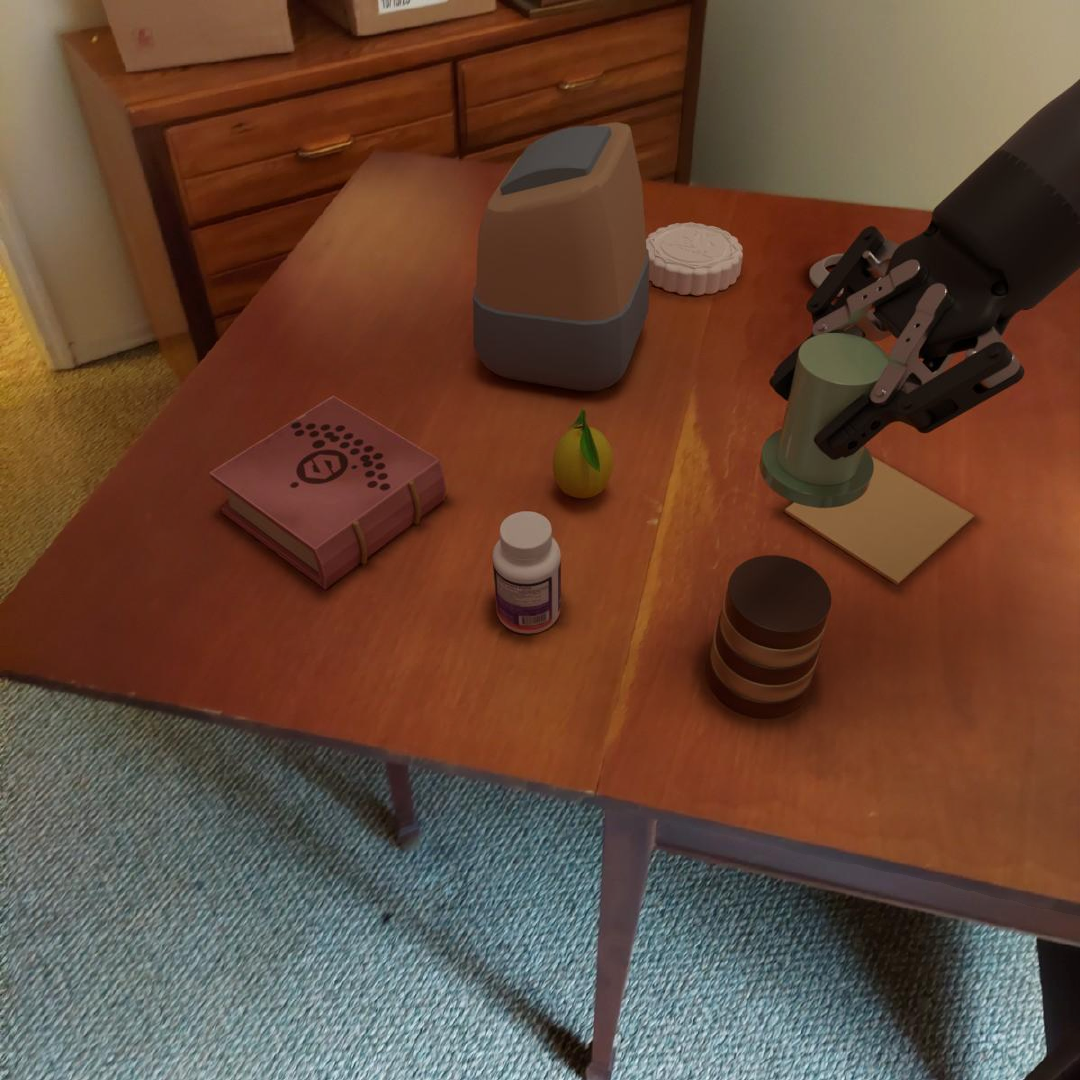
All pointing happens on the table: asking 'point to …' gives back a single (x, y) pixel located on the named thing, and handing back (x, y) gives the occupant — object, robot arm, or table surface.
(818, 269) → the ring
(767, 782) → the table surface
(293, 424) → the book
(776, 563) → the stack
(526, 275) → the small trash can
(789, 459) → the ring spool
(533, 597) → the pill bottle
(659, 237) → the mooncake
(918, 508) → the mat
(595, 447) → the lemon
